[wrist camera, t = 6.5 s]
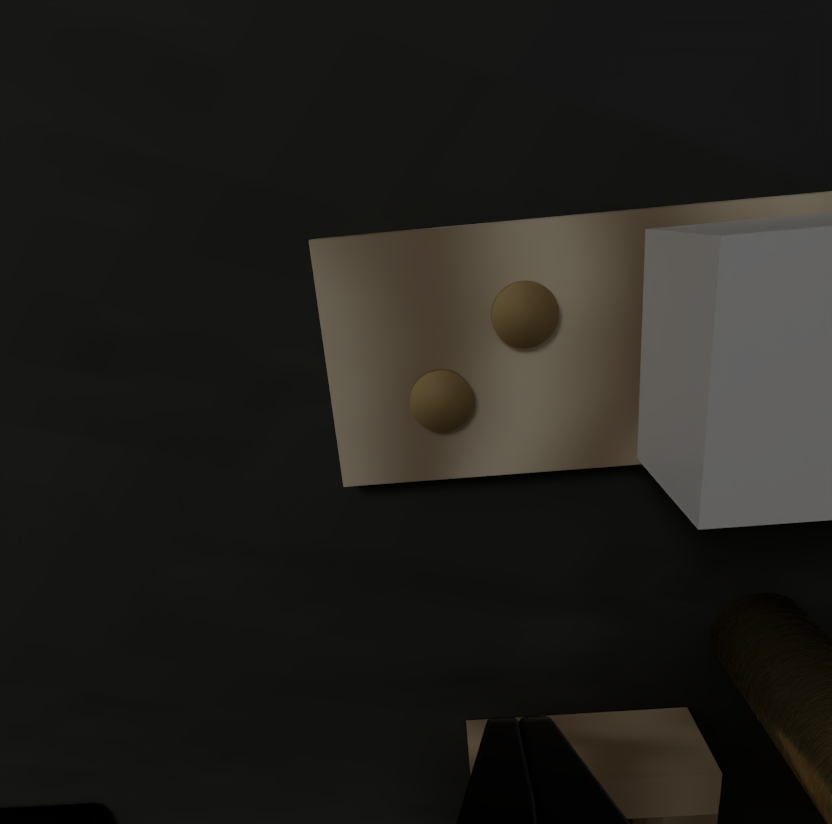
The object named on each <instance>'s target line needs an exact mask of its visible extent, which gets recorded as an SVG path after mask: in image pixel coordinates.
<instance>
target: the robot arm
mask: <svg viewBox="0 0 832 824" xmlns="http://www.w3.org/2000/svg"><path fill="white" fill-rule="evenodd" d="M0 824H107V821H106V818H105V815H104V812H103V811H102V809H101V808H99V807H98V806H95V805H72V806H55V807H37V808H19V809H1V810H0ZM457 824H630V823H629V821H628V820H627V819H626V817H625V816H624V815H623V813H622V812H621V811H620V809H619V808H618V807H617V805H616V804H615V803H614V801H613V800H612V799H611V797H610V796H609V795H608V793H607V792H606V791H605V789H604V788H603V787H602V785H601V784H600V783H599V781H598V780H597V779H596V777H595V776H594V775H593V773H592V772H591V771H590V769H589V768H588V767H587V765H586V764H585V763H584V761H583V760H582V759H581V757H580V756H579V755H578V753H577V752H576V751H575V749H574V748H573V747H572V745H571V744H570V743H569V741H568V740H567V739H566V737H565V736H564V735H563V733H562V732H561V731H560V729H559V728H558V727H557V725H556V724H555V723H554V721H553V720H552V719H551V718H549V717H547V716H532V717H522V718H521V719H520V720H519V722H518V720H517V719H516V718H514V717H504V718H490V719H489V720H488V721H487V722H486V725H485V728H484V732H483V735H482V739H481V742H480V746H479V749H478V752H477V756H476V759H475V763H474V766H473V769H472V773H471V776H470V780H469V783H468V786H467V790H466V793H465V797H464V800H463V804H462V807H461V810H460V814H459V817H458V821H457Z"/></svg>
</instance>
